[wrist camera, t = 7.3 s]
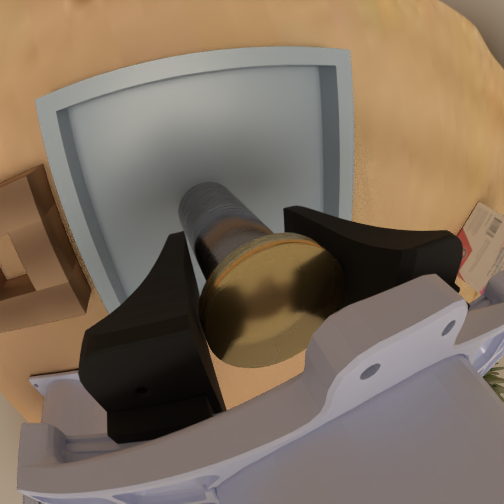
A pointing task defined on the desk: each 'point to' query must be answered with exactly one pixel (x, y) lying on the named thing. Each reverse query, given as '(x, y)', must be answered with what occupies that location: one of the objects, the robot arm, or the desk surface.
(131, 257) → the tray
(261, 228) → the lock pin
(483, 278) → the ink cartridge box
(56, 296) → the brown square socket base
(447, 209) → the desk surface
